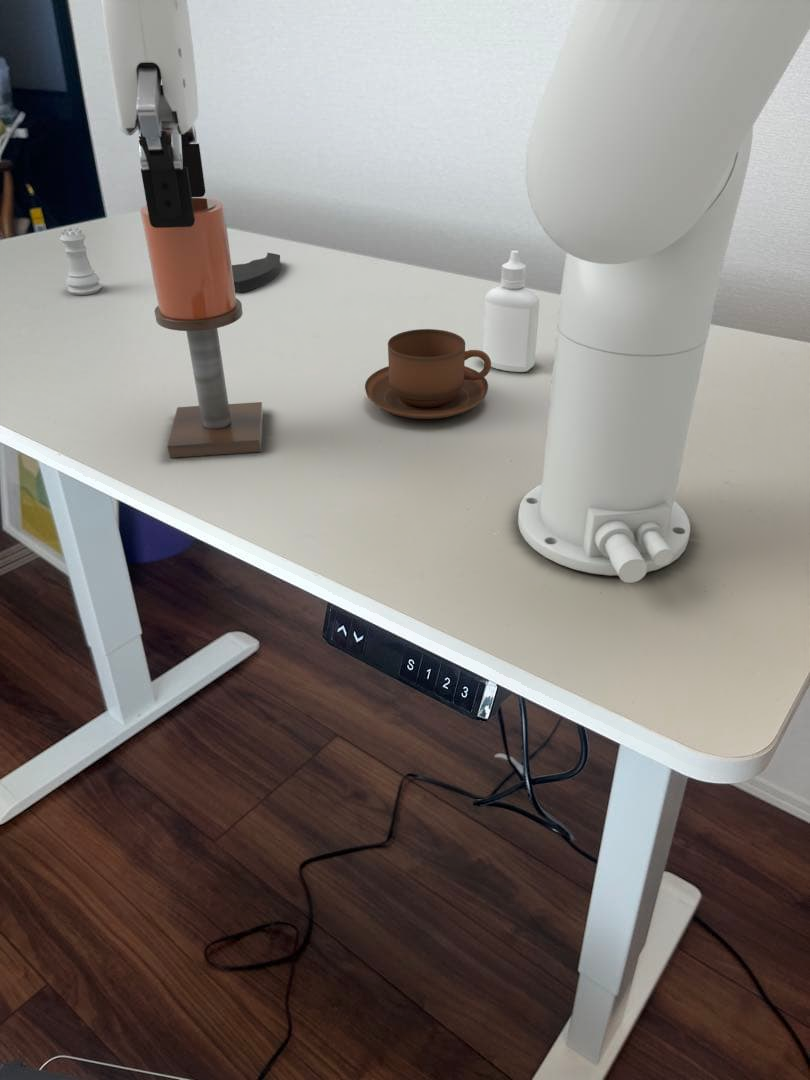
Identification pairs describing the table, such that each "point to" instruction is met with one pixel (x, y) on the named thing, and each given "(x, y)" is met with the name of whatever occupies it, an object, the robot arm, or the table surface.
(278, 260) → the fan shaped piece
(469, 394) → the cup and saucer
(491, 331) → the eye dropper bottle
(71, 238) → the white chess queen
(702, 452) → the table surface
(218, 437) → the cat scratching post
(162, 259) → the terracotta cup
